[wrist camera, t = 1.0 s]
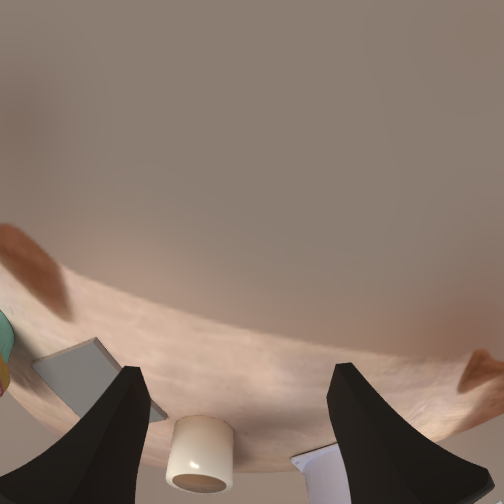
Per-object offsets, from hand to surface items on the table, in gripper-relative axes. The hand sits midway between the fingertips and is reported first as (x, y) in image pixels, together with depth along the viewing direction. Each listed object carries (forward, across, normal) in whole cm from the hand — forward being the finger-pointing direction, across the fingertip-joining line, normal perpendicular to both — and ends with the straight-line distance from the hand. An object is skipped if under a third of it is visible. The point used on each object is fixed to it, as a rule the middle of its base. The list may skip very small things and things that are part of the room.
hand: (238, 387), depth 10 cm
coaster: (+7, +12, +10) cm, 18 cm away
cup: (+7, +3, +15) cm, 17 cm away
